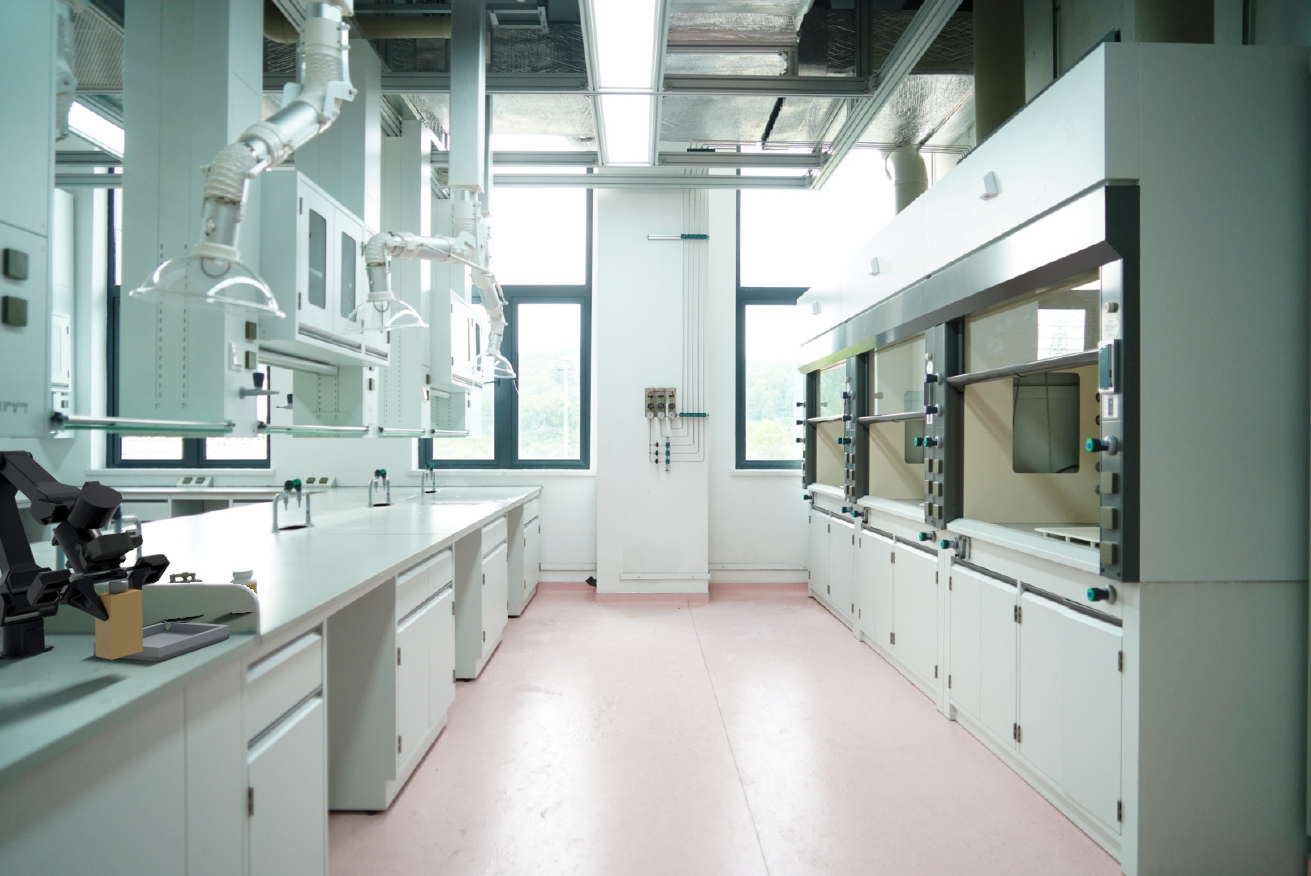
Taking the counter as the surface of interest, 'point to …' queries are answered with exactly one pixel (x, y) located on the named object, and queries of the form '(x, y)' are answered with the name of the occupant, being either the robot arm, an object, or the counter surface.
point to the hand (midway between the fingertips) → (123, 615)
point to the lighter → (184, 578)
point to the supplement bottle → (245, 578)
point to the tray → (176, 639)
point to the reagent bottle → (120, 622)
